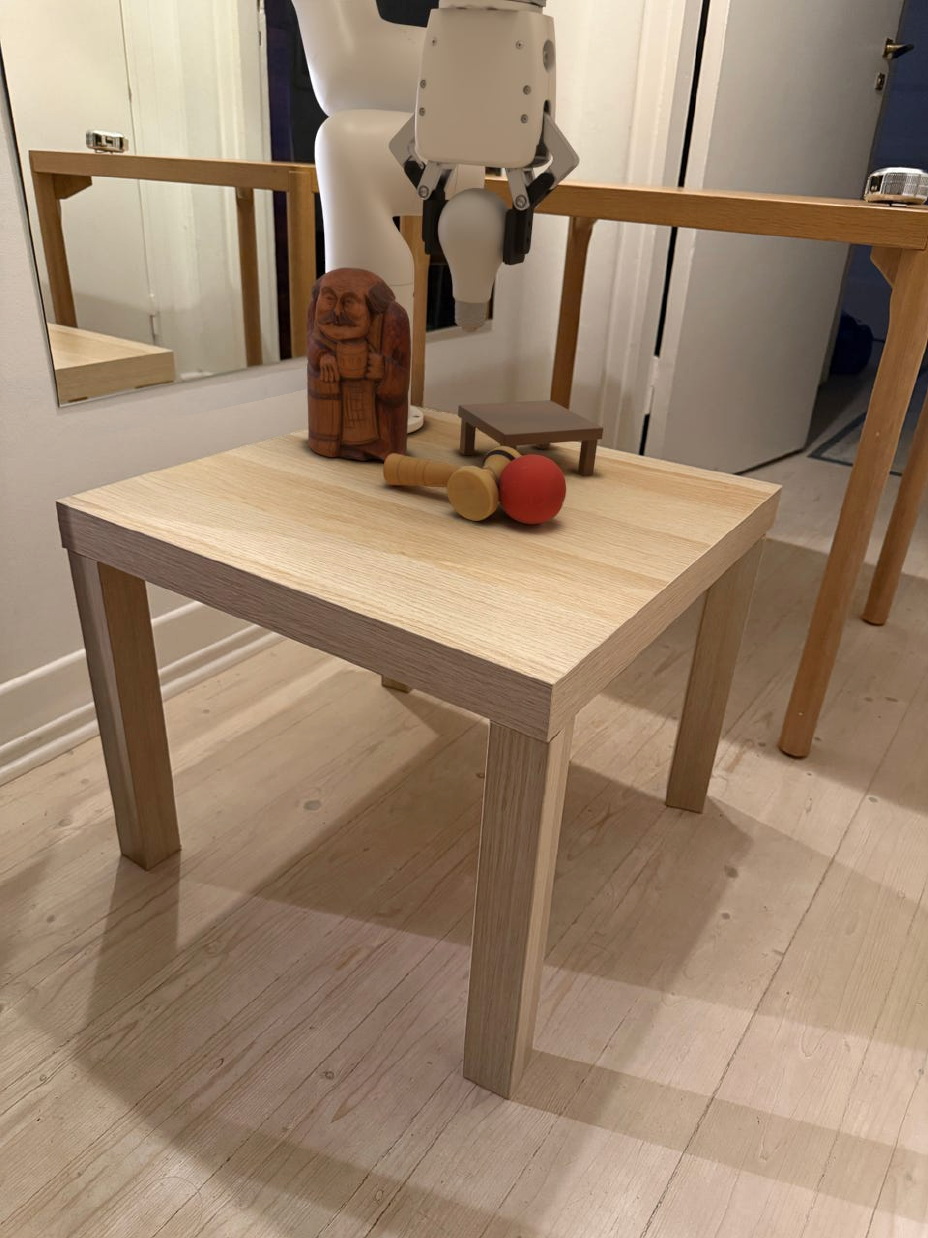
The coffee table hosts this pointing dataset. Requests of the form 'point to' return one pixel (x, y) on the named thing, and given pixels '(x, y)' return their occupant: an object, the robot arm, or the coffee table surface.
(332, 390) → the wooden figurine
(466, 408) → the desk
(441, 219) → the lightbulb
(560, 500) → the kendama
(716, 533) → the coffee table surface
